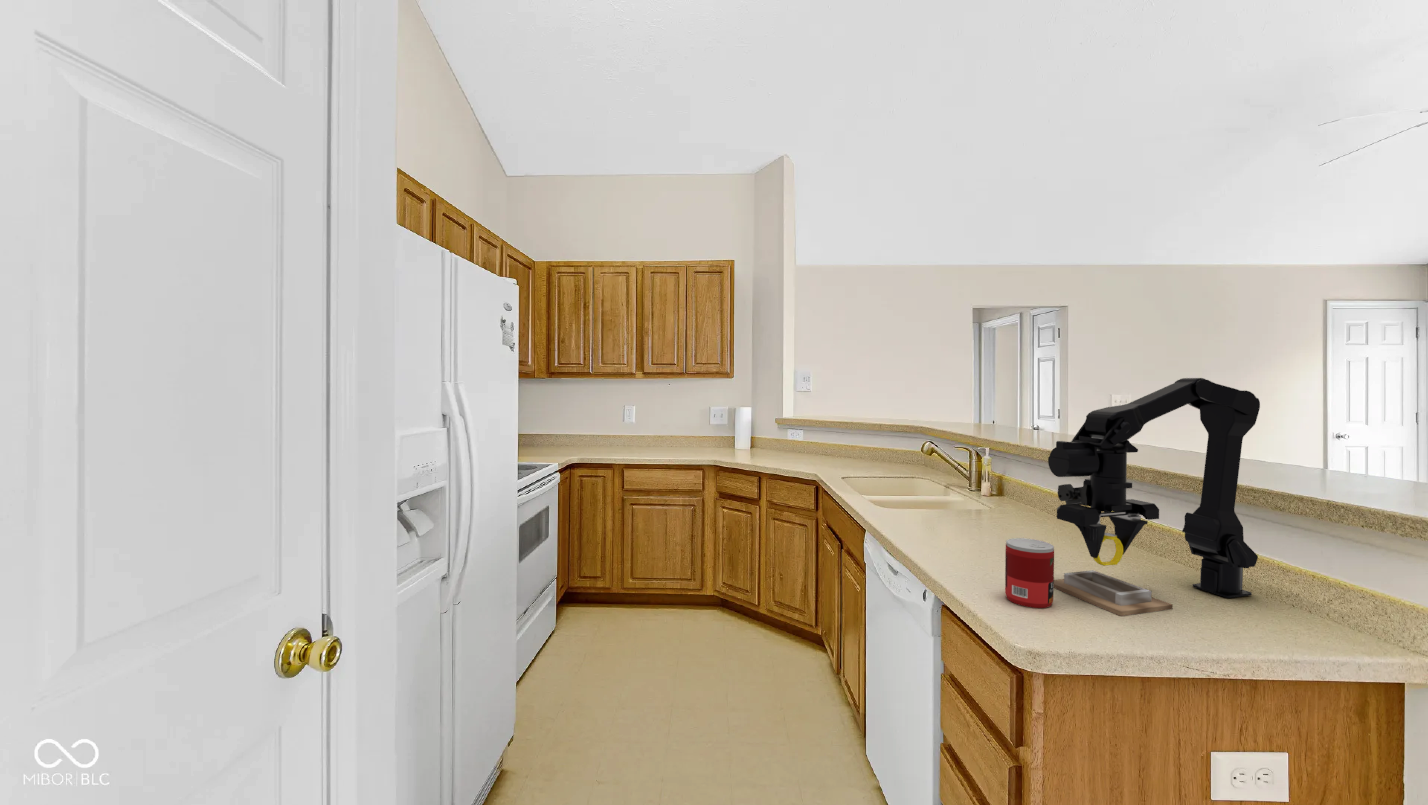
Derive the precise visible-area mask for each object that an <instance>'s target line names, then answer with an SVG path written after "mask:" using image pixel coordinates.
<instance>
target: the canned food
mask: <svg viewBox="0 0 1428 805" xmlns="http://www.w3.org/2000/svg"><path fill="white" fill-rule="evenodd" d="M1004 551H1005V560H1004V562H1005V568H1004V571H1005V574H1004V576H1005V577H1004V582H1005V583H1004V585H1005V586H1004V593H1005V597H1006V599H1007V600H1008V601H1010V602H1011V603H1013V604H1015V605H1019V606H1022V607H1027V608H1032V609H1046V608H1049V607H1051V606H1052V605H1053V603H1054V590H1055V588H1054V580H1055V578H1054V577H1055V546H1054V545H1053V544H1052V543H1050V542H1046V541H1044V540H1039V539H1034V538H1024V537H1016V538H1013V537H1012V538H1008V539H1006V541H1005V550H1004Z"/></svg>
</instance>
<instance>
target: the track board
mask: <svg viewBox="0 0 1428 805" xmlns="http://www.w3.org/2000/svg"><path fill="white" fill-rule="evenodd" d="M1063 574H1064V575H1063V578H1060V579H1059V578H1058V579H1054V590H1055V589H1056V590H1058V591H1060V592H1063V593H1065V594H1066V595H1069V596H1071V597H1072V596H1073V597H1075V598H1077V599H1080V600H1082V601H1084V602H1086V603H1089V604H1091V605H1094V606H1096V607H1098V608H1100V609H1103V610H1105V611H1107V612H1110V613H1112V614H1114V615H1117V616H1119V617H1123V616H1124V617H1125V616H1131V615H1138V614H1146V613H1153V612H1159V611H1168V610H1169V611H1170V610H1173V604H1171V603H1170V602H1166V601H1164V600H1161V599H1158V598H1155V597H1152V593H1153V592H1152V590H1149V589H1147V588H1143V587H1141V586H1138V585H1135V584H1133V583H1130V582H1127V581H1124V580H1121V579H1118V578H1117V577H1112V576H1110V575H1108V574H1105V573H1103V572H1102V573H1101V572H1099V571H1097V570H1094V569H1090V570H1081V571H1074V572H1073V571H1072V572H1064V573H1063Z"/></svg>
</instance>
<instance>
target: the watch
mask: <svg viewBox="0 0 1428 805" xmlns="http://www.w3.org/2000/svg"><path fill="white" fill-rule="evenodd" d="M1106 540H1110V541H1111V540H1112V541H1113V542H1114V545H1115V544H1116V546H1115V552H1114V555H1113V557H1112V559H1111V560H1108V561H1102V560H1101V558H1100V554H1099V555H1098V557H1097V558H1093V557H1092V558H1093V560H1094V562H1096V563H1097V564H1098V565H1100V566H1104V567H1105V566H1114V565H1115V566H1117V565H1118V564H1119V562H1121V560H1122V557H1123V556H1124V555H1123V545H1122V543H1121V541H1120V540H1119V539H1118V538H1117V535H1115V533H1110V532H1105V534H1104V537H1103V541H1102V543H1104V542H1105V541H1106Z"/></svg>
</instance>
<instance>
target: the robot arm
mask: <svg viewBox="0 0 1428 805" xmlns="http://www.w3.org/2000/svg"><path fill="white" fill-rule="evenodd" d="M1260 401H1261V400H1260V399H1259V398H1258V397H1257V396H1256V395H1255V394H1254V393H1253V392H1251V391H1250V390H1240V389H1237V388H1234V387H1230V386H1227V385H1223V384H1219V383H1215V382H1214V381H1211V380H1209V379H1206V378H1203V377H1183V378H1180V379H1177V380H1176V381H1174V382H1173V383H1170V384H1169V385H1167V386H1164V387H1162V388H1161V389H1158V390H1155V391H1153V392H1151V393H1148V394H1147V395H1144V396H1142V397H1140V398H1138V399H1135V400H1132V401H1130V402H1129V403H1126V404H1121V405H1120V404H1119V405H1114V406H1108V407H1107V406H1106V407H1103V408H1098V409H1095V410H1092V411H1090V412H1089V413H1088V414H1086V418H1085V420H1084V422H1083V424H1082V426H1081V427H1080V428H1079V430H1078V431H1077V432H1076V434H1075V435H1074V437H1073V438H1072V440H1071V441H1065V440H1057V441H1056V442H1055V447H1054V448H1053V449H1052V450H1051V451H1050V453H1049V456H1048V457H1047V463H1048V468H1049V470H1050V471H1051V473H1052V474H1053V475H1054V476H1055V477H1057V478H1073V477H1076V478H1077V477H1089V478H1084V480H1083V482H1082V483H1083V484H1082V485H1083V486H1079V487H1074V486H1073V485H1072V484H1071V483H1068V484H1067V483H1066V484H1060V485H1059V484H1058V487H1057V496H1058V500H1059V501H1061V502H1065V504H1060V505H1059V506H1058V507H1057V508H1056V520H1061V521H1064V522H1067V523H1069V524H1074V525H1075V526H1076V527H1077V528H1078V529H1079V531H1080V532H1081V535H1082V537H1083V540H1084V542H1085V543H1084V544H1085V545H1086V548H1087V549H1088V552H1089V556H1090V557H1091V558H1097V557H1098V555H1099V556H1100V552H1101V548H1102V546H1103V545H1102V544H1103V542H1102V541H1103V537H1104V534H1105V533H1106V530H1107V525H1106V524H1102V523H1101V518H1109V520H1110V521H1111V523H1112V524H1113V526H1114V527H1113V528H1114V534H1115V535H1117V538H1118V539H1119V540H1120V541H1121V543H1122V545H1123V555H1122V556H1124V554H1125V553H1126V551H1128V549H1129V547H1130V545H1131V544H1132V543H1133V541H1134V539H1135V538H1136V536H1137V535H1138V534H1139V533H1140V531H1141V530H1142V529H1143V527H1144V526H1145V525H1148V523H1149V521H1150V520H1151V521H1152V520H1160V509H1159V507H1158V506H1157V505H1156V504H1155V503H1152V502H1149V501H1148V502H1147V501H1143V500H1140V499H1139V500H1138V499H1133V498H1130V499H1127V489H1133V482H1132V481H1131V482H1130V481H1127V468H1128V467H1127V463H1128V462H1127V460H1128V458H1127V455H1128V453H1129V454H1131V453H1138V452H1139V448H1137V447H1136V446H1135V445H1134V444H1131V442H1130V441H1129V439H1131V438H1132V437H1134V436H1136V435H1137V434H1139V433H1140V432H1141V431H1142V429H1144V428H1143V427H1144V426H1145V425H1146V424H1147V423H1149V422H1151V421H1153V420H1155V419H1157V418H1160V417H1162V416H1165V415H1166V414H1169V413H1171V412H1174V411H1176V410H1178V409H1180V408H1181V407H1185V406H1187V405H1189V406H1190V407H1192V408H1195V409H1197V410H1199V418H1200V419H1199V420H1200V422H1201V424H1202V426H1203V428H1204V429H1205V431H1206V432H1207V444H1206V452H1205V461H1204V470H1203V479H1202V480H1203V481H1202V487H1201V497H1200V503H1199V506H1198V507H1197V508H1196V509H1195V510H1194V511H1193V512H1186V513H1185V514H1184V525H1183V528H1182V530H1181V532H1182V533H1184V539H1185V542H1187V545H1188V546H1189V550H1190V553H1191V555H1194V556H1198V557H1201V562H1200V563H1201V567H1200V575H1199V576H1200V577H1199V578H1200V580H1199V581H1200V582H1199V583H1193V584H1192V587H1193V588H1195V589H1197V590H1201V591H1204V592H1207V593H1210V594H1214V595H1216V596H1220V597H1223V598H1226V599H1232V598H1240V597H1246V596H1247V597H1248V596H1252V592H1251V591H1249V590H1245V589H1243V583H1244V582H1243V580H1244V577H1243V576H1244V573H1243V572H1244V569H1250V568H1255V566H1256V565H1257V561H1258V559H1259V555H1257V553H1256V552H1255V551H1254V550H1253V549H1252V548H1251V547H1250V546H1249V545H1248V544H1247V543H1246V542H1245V540H1244V527H1243V524H1242V522H1241V521H1240V519H1239V517H1238V515H1237V514H1236V512H1235V506H1236V500H1237V499H1236V498H1237V497H1236V496H1237V491H1238V490H1237V489H1238V481H1239V472H1240V466H1241V455H1242V447H1243V440H1244V437H1245V436H1246V435H1247V433H1249V431H1250V430H1251V429H1252V428H1253V427H1254V426H1255V425H1256V422H1257V419H1258V416H1259V411H1260V408H1261V403H1260ZM1142 517H1143V518H1144V519H1145V520H1144V519H1142ZM1114 546H1115V547H1116V544H1115V543H1114Z"/></svg>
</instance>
